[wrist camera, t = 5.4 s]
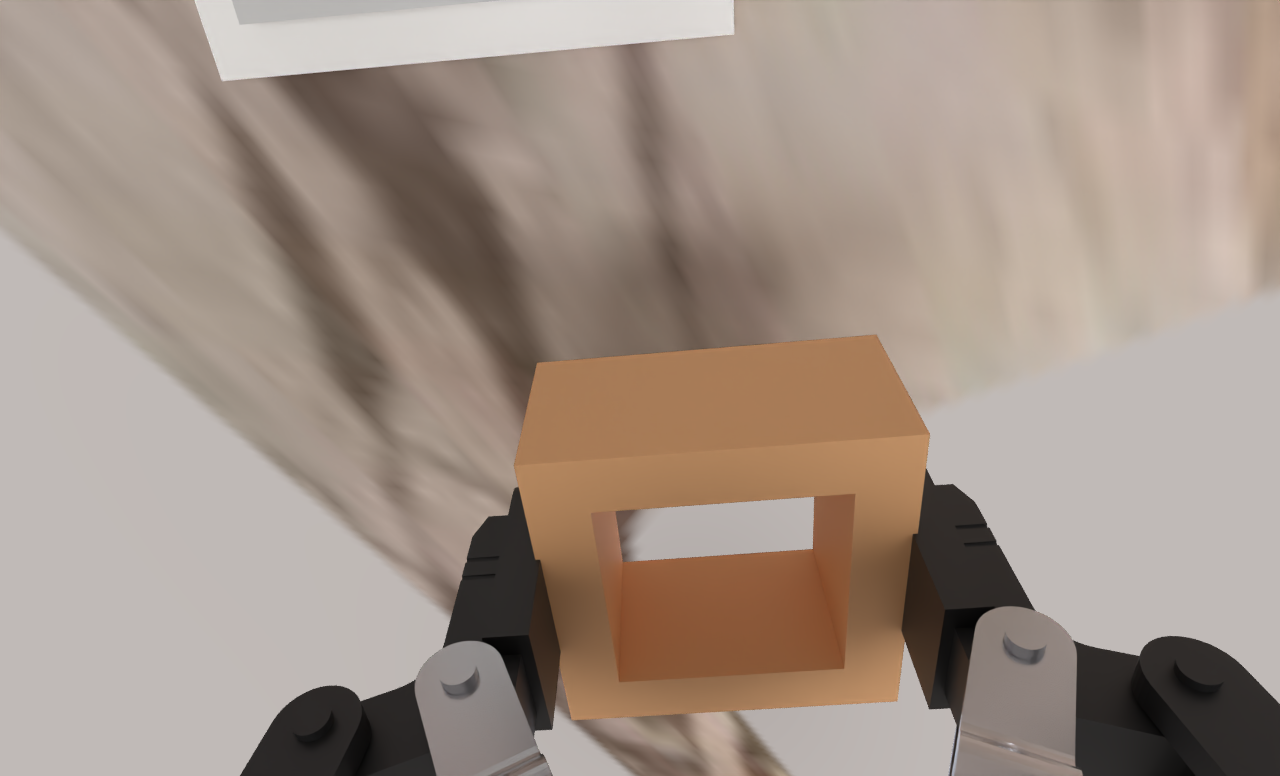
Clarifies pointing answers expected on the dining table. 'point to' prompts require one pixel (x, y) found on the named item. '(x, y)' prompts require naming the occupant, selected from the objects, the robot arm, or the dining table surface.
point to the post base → (435, 30)
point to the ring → (712, 474)
